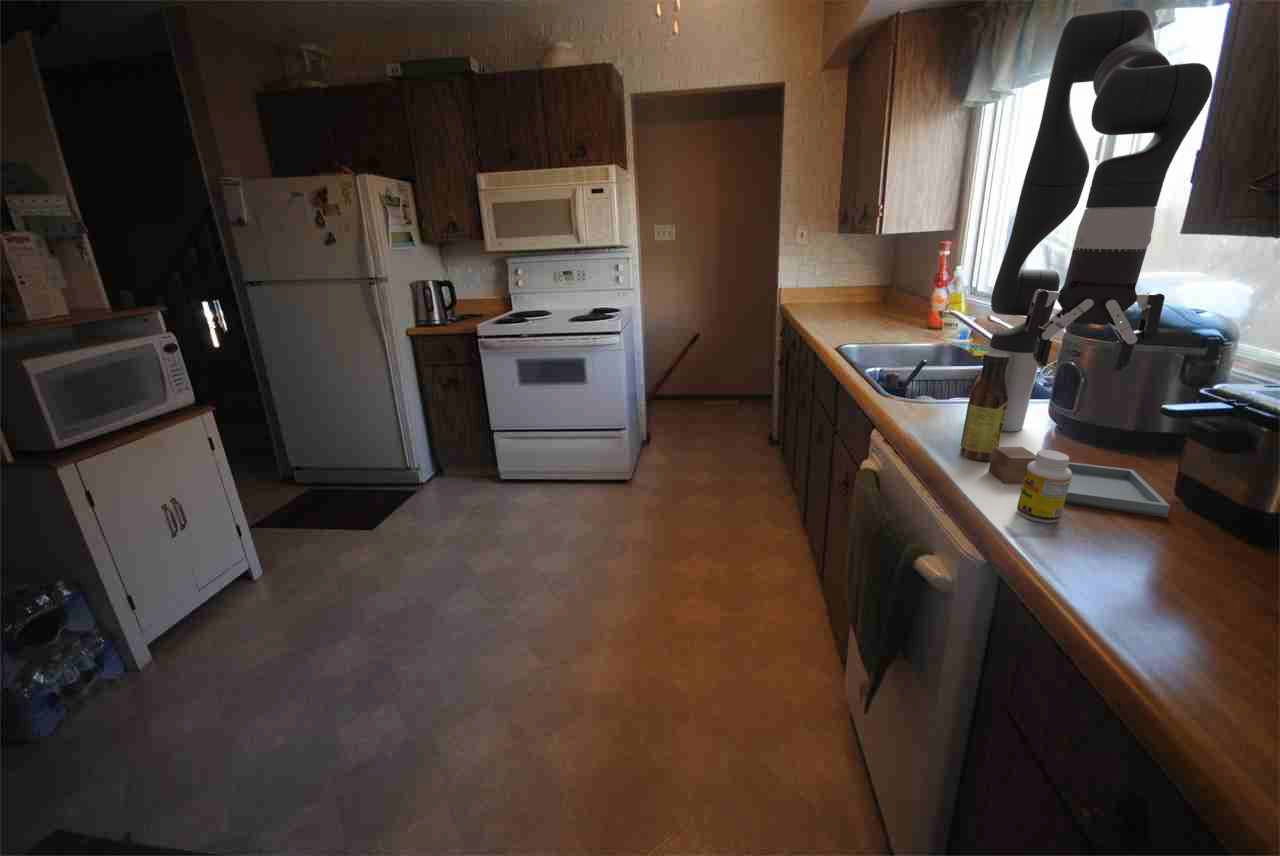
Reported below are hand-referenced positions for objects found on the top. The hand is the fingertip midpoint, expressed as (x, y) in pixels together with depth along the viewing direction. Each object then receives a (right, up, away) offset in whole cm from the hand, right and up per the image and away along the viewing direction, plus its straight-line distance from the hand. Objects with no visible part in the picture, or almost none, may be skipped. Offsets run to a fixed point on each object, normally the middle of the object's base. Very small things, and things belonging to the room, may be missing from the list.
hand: (1076, 367), depth 78 cm
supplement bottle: (0, -22, +8) cm, 24 cm away
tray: (+15, -19, +16) cm, 29 cm away
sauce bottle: (+4, -14, +30) cm, 33 cm away
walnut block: (+4, -17, +21) cm, 27 cm away
